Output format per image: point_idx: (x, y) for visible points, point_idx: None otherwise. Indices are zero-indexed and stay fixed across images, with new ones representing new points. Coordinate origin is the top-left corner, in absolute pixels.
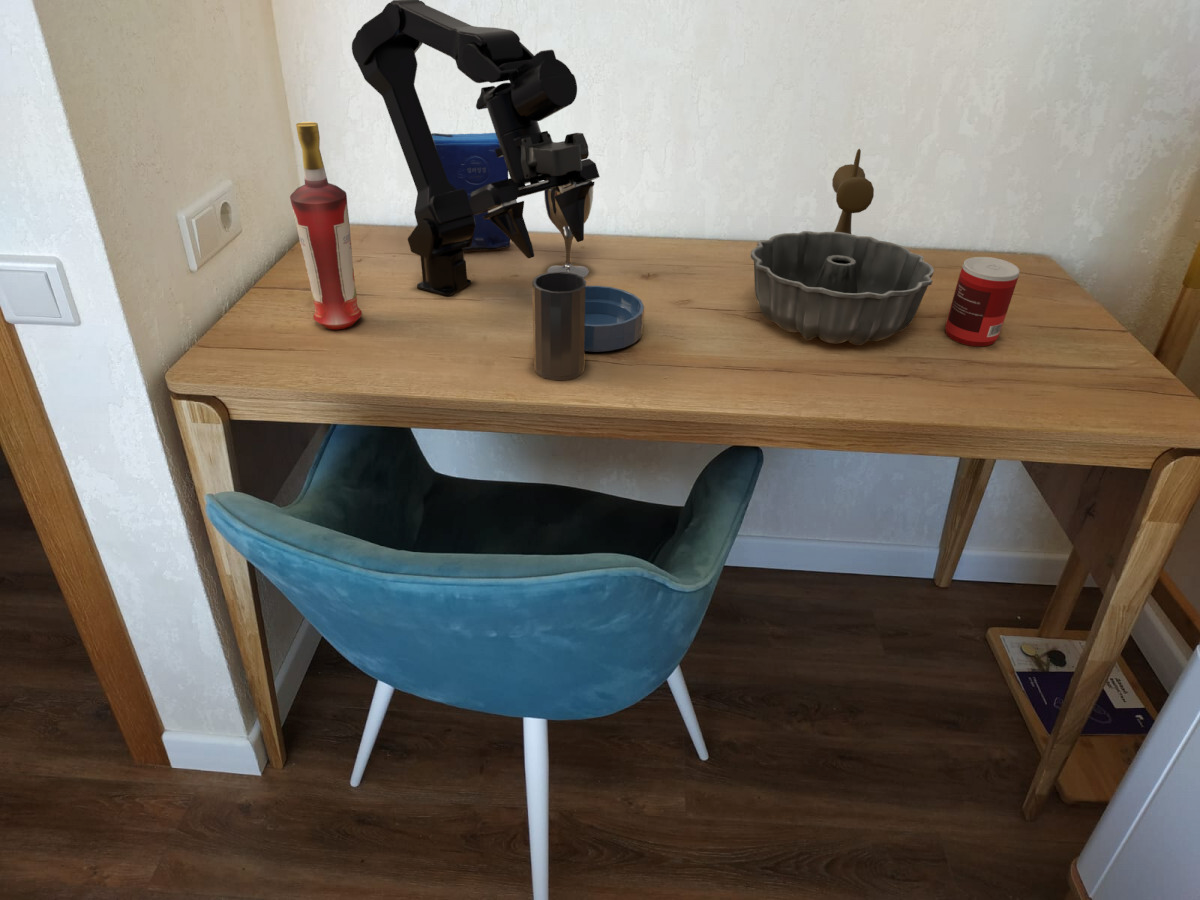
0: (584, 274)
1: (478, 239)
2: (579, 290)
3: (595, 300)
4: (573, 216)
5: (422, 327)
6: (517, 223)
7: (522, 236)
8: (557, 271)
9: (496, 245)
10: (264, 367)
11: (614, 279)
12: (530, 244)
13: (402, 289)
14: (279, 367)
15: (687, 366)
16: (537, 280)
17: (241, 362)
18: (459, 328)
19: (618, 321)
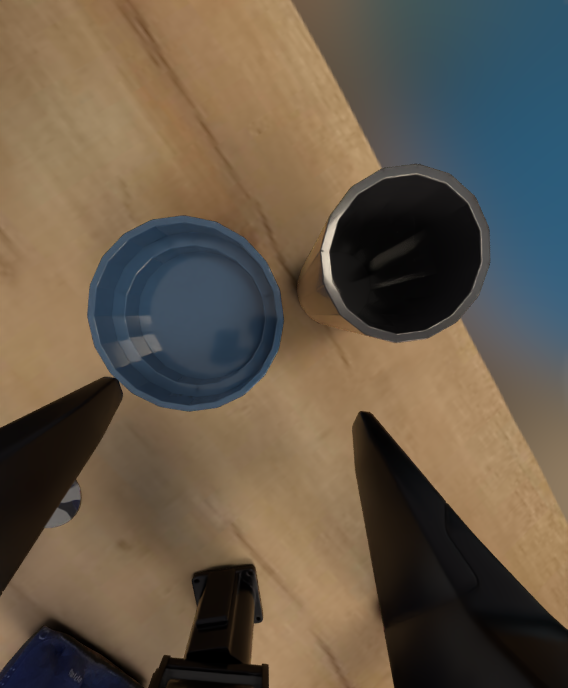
0: None
1: (76, 676)
2: (418, 165)
3: (137, 359)
4: (27, 480)
5: (352, 521)
6: (501, 572)
7: (434, 488)
8: (61, 505)
9: (59, 642)
10: (547, 579)
11: (9, 416)
12: (383, 444)
13: (277, 626)
14: (538, 567)
15: (200, 122)
16: (418, 329)
17: (552, 607)
18: (323, 482)
19: (151, 303)
